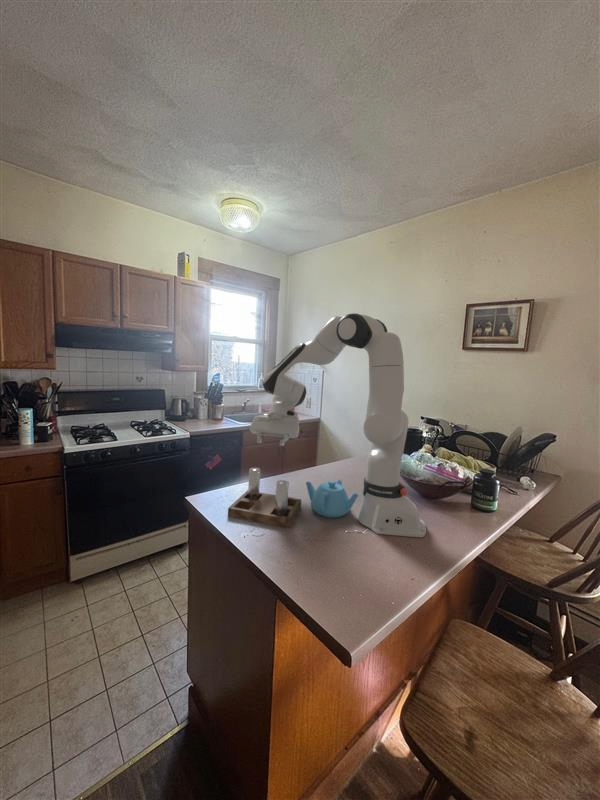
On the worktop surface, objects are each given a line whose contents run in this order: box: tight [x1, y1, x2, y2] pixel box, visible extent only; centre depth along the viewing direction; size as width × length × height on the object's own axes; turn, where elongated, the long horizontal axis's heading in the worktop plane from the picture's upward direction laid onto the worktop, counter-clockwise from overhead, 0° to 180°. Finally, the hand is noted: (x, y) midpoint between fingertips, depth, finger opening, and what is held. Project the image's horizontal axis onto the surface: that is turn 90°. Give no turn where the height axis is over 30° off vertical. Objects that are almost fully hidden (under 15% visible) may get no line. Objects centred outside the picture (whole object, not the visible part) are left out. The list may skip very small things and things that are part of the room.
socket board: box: [227, 489, 302, 529], centre depth 111 cm, size 21×16×3 cm
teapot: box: [305, 479, 359, 519], centre depth 116 cm, size 15×15×11 cm
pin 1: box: [247, 467, 261, 500], centre depth 116 cm, size 4×4×13 cm
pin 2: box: [275, 479, 290, 517], centre depth 105 cm, size 4×4×13 cm
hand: (270, 443), depth 127 cm, fingers open, 8 cm apart
